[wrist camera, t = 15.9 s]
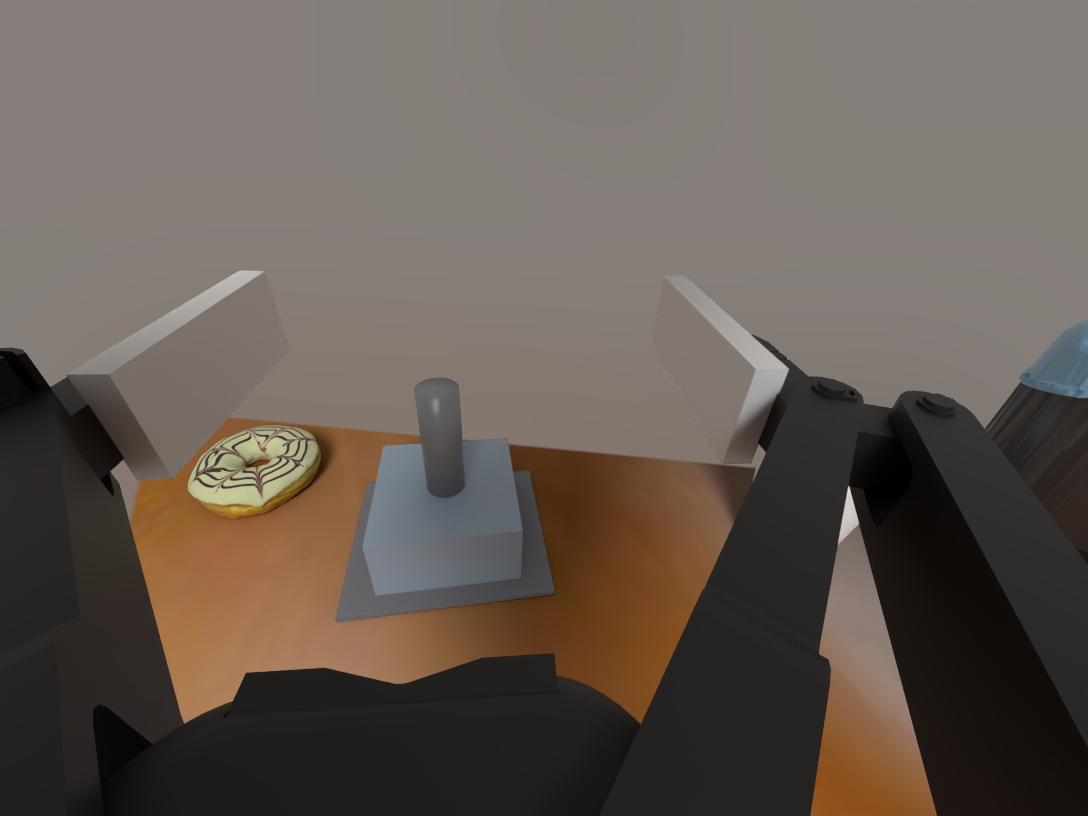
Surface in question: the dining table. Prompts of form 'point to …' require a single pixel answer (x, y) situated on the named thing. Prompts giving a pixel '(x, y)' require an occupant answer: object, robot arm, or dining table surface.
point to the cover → (443, 505)
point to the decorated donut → (255, 470)
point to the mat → (533, 582)
